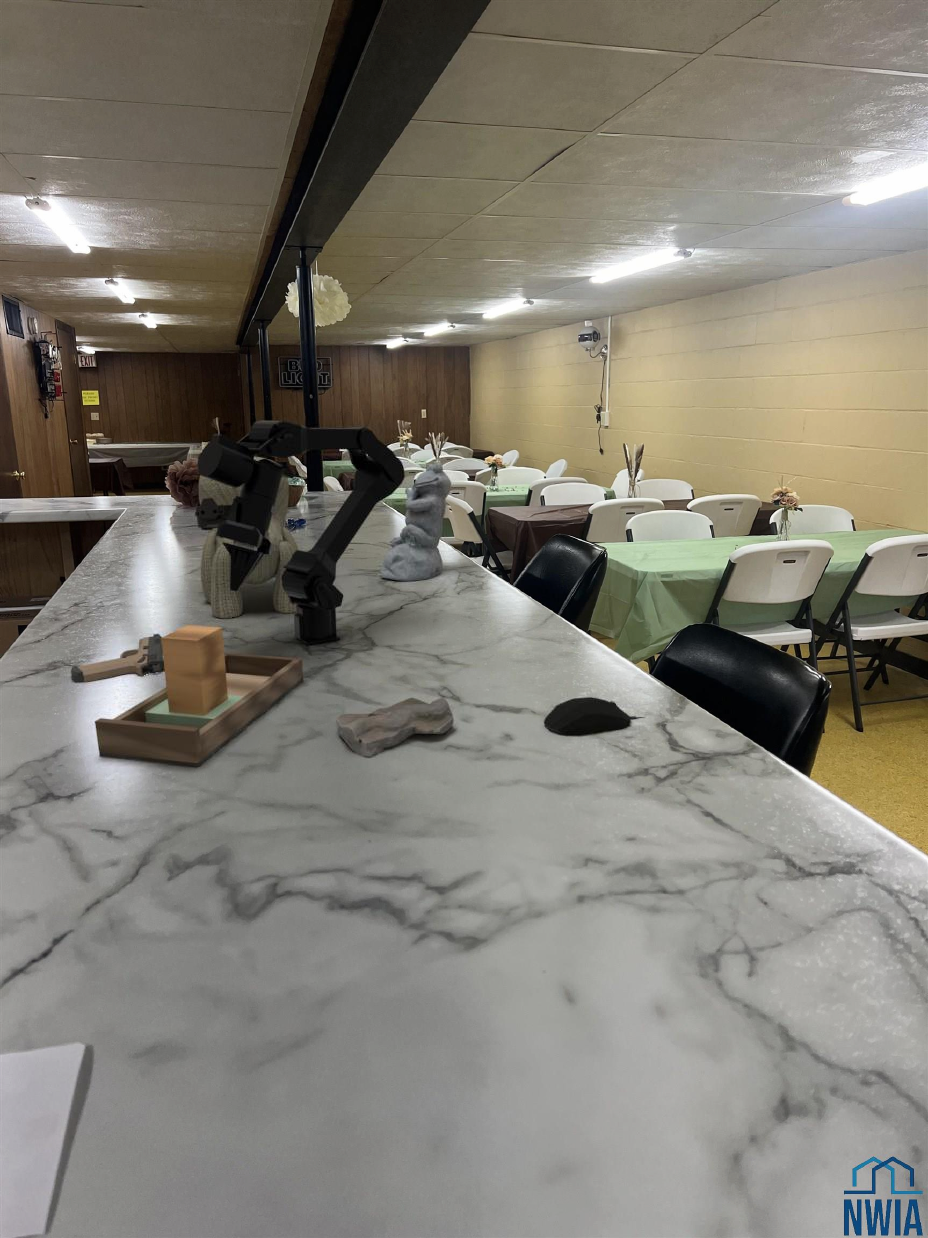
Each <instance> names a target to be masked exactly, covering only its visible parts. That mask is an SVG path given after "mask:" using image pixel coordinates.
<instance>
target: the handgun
mask: <svg viewBox="0 0 928 1238" xmlns="http://www.w3.org/2000/svg"><path fill="white" fill-rule="evenodd" d="M162 637H163V636H161V634H160V633H153V636H152V635H151V636H147V637H146V636H145V637H142V638H139V640H138V641H139V642H138V648H135V649H129V650H125V651H122V653H121V654H120V655H119V657H117V658H114V659H113V658H112V659H109V660H103V661H97V662H94V663H90V664H89V663H88V664H85V665H72V666H71V669H70V674H71V679H72V681H73V682H74V683H79V684H80V683H89V682H93V681H94V680H95V681H98V680H104V679H109V678H114V677H117V676H122V675H127V674H137V675H138V676H139V675H140V676H139V677H145V676H147V675H146V674H148V675H150V674H149V673H153V674H157V673H156V672H158V673H161V672H162V671H163V672H165V669H164V660H163V650H162V641H161V638H162ZM144 675H145V676H144Z"/></svg>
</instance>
